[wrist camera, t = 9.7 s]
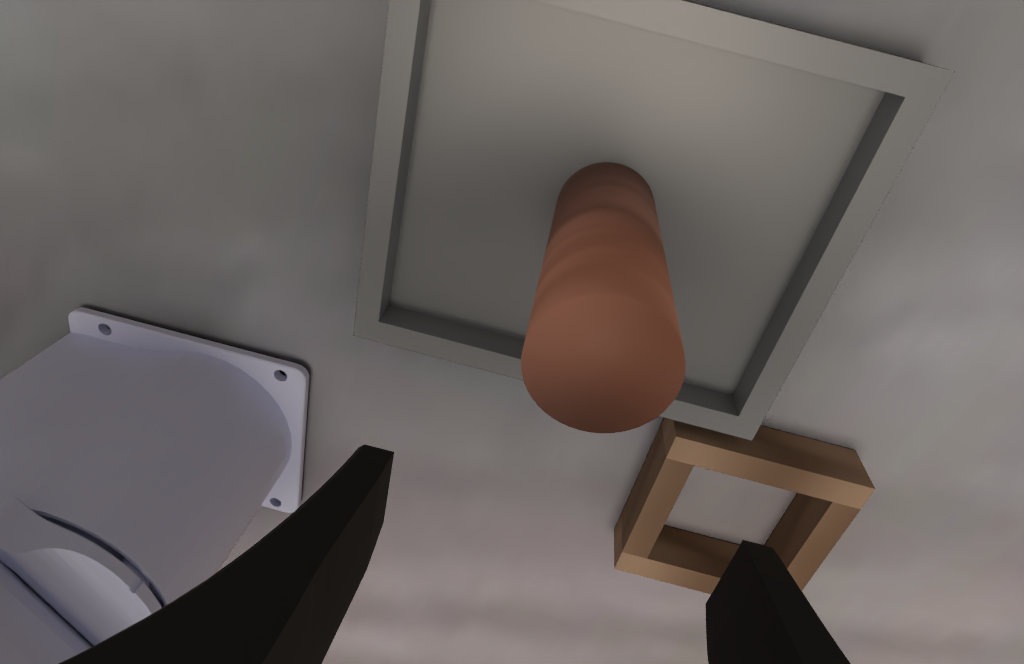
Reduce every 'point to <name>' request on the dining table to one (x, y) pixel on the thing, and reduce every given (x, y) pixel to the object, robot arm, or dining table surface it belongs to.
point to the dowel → (604, 308)
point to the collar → (766, 459)
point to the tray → (642, 147)
